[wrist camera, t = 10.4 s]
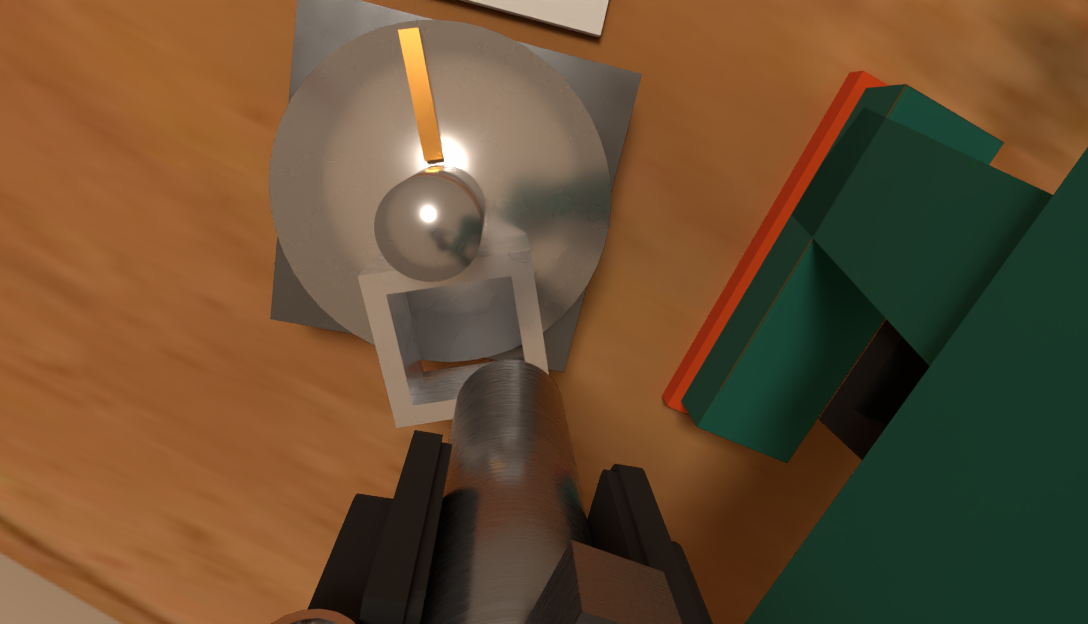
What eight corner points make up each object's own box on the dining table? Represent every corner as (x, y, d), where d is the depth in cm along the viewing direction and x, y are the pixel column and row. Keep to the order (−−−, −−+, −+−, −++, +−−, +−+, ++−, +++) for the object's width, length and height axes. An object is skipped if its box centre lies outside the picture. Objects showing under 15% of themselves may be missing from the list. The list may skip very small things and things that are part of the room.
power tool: (654, 609, 36) (821, 1143, 17) (556, 577, 35) (620, 1120, 16) (962, 139, 28) (1943, 176, 9) (849, 72, 26) (1721, -51, 8)
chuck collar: (588, 0, 21) (620, -45, 15) (622, 348, 25) (657, 414, 20) (234, 50, 20) (130, 23, 15) (334, 393, 25) (284, 473, 19)
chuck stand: (621, 81, 26) (641, 74, 22) (556, 340, 30) (564, 372, 26) (330, 5, 24) (298, -16, 20) (301, 292, 28) (270, 318, 24)
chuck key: (605, 337, 15) (765, 670, 6) (515, 510, 17) (524, 1004, 7) (503, 294, 15) (495, 583, 5) (419, 477, 16) (294, 962, 7)
